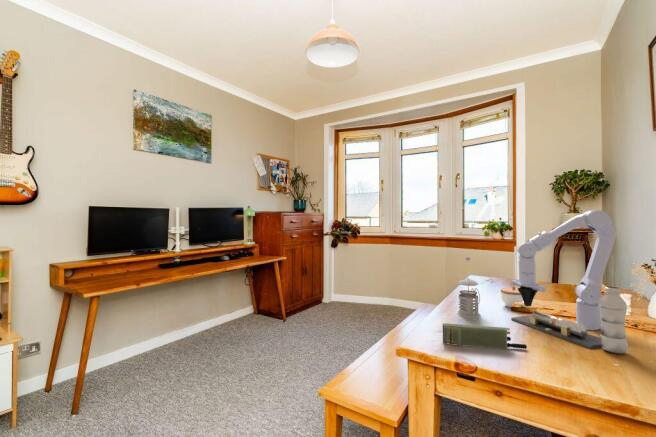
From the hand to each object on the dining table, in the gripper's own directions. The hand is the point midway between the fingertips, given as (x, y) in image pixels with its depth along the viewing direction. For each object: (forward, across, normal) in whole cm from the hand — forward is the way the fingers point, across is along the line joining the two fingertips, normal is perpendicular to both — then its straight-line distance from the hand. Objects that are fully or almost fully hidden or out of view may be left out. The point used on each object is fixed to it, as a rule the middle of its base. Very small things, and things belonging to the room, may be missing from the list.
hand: (528, 305), depth 130 cm
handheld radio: (+6, +15, -36) cm, 40 cm away
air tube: (+5, +14, -2) cm, 14 cm away
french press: (+6, -13, -18) cm, 23 cm away
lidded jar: (+6, -17, +10) cm, 21 cm away
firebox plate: (+6, +13, -2) cm, 14 cm away
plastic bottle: (+6, +32, -2) cm, 32 cm away
